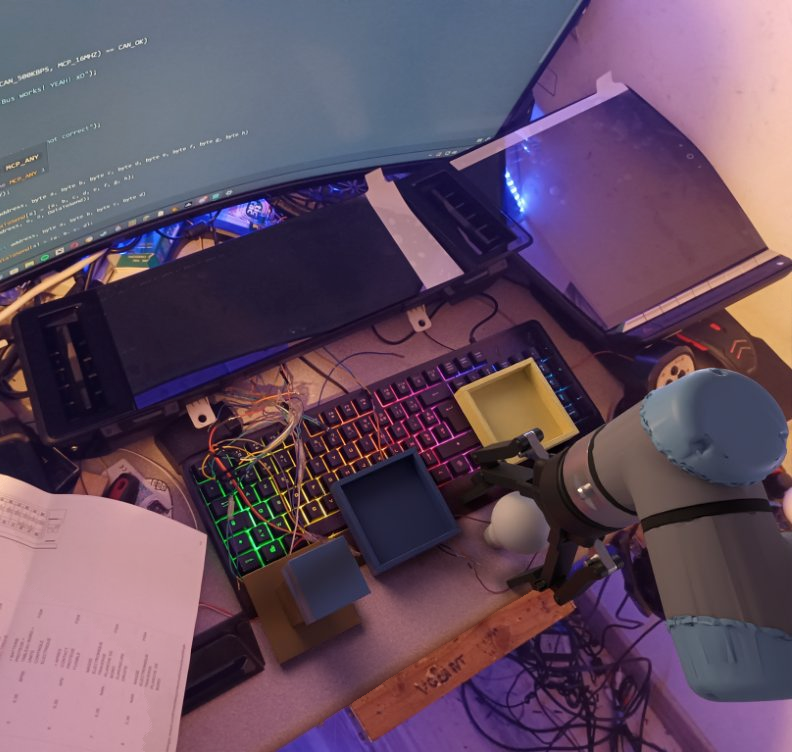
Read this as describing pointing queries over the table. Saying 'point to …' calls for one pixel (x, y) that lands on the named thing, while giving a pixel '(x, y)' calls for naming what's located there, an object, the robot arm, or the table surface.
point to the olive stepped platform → (291, 611)
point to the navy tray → (394, 510)
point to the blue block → (325, 580)
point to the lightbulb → (517, 525)
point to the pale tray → (515, 407)
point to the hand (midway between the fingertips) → (494, 537)
